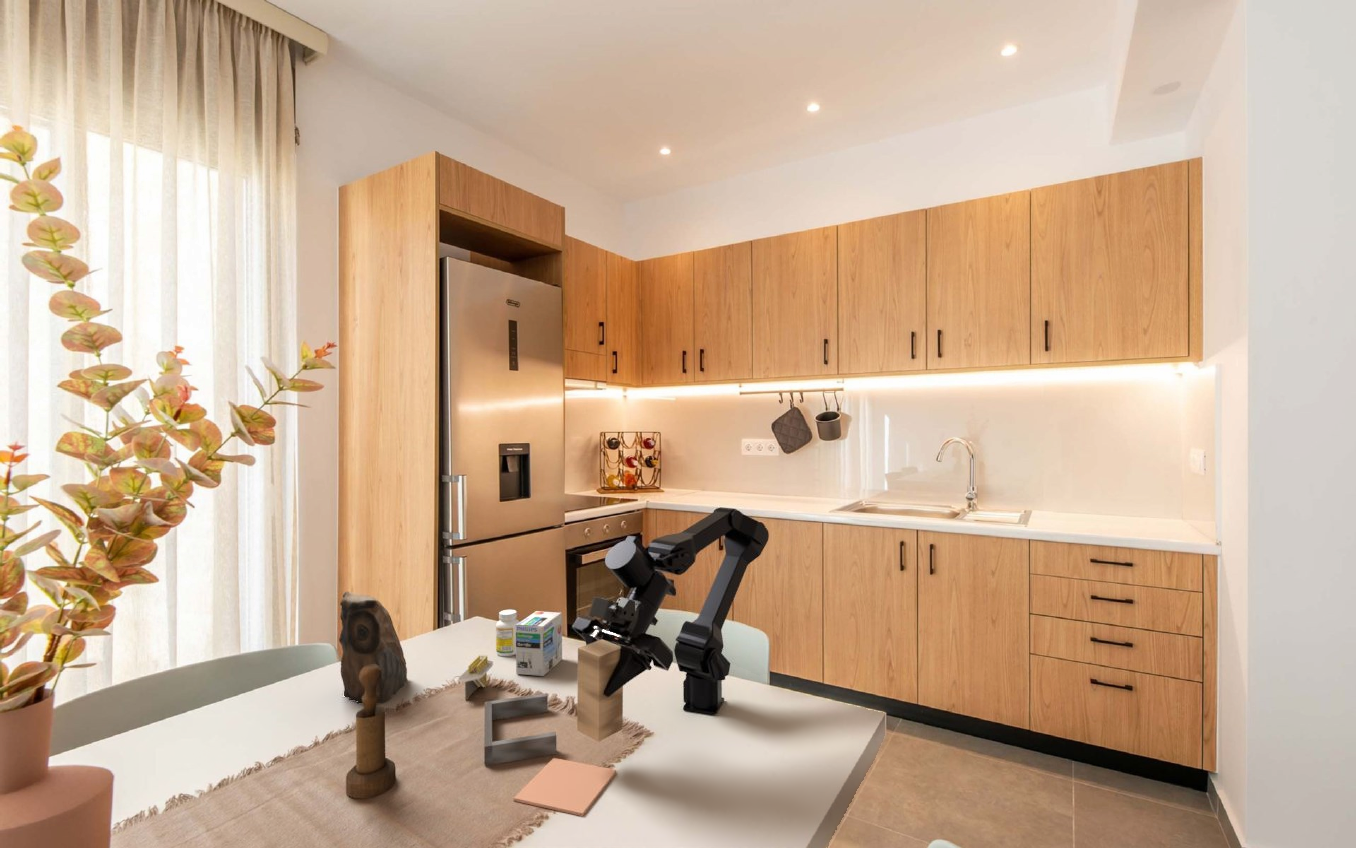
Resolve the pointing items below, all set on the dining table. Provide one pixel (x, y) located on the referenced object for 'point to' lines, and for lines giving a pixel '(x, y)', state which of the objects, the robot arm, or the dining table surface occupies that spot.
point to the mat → (566, 786)
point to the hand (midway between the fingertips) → (593, 690)
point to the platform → (476, 675)
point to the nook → (516, 746)
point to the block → (598, 691)
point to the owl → (369, 647)
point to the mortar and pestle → (370, 743)
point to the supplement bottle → (506, 633)
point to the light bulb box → (538, 643)
